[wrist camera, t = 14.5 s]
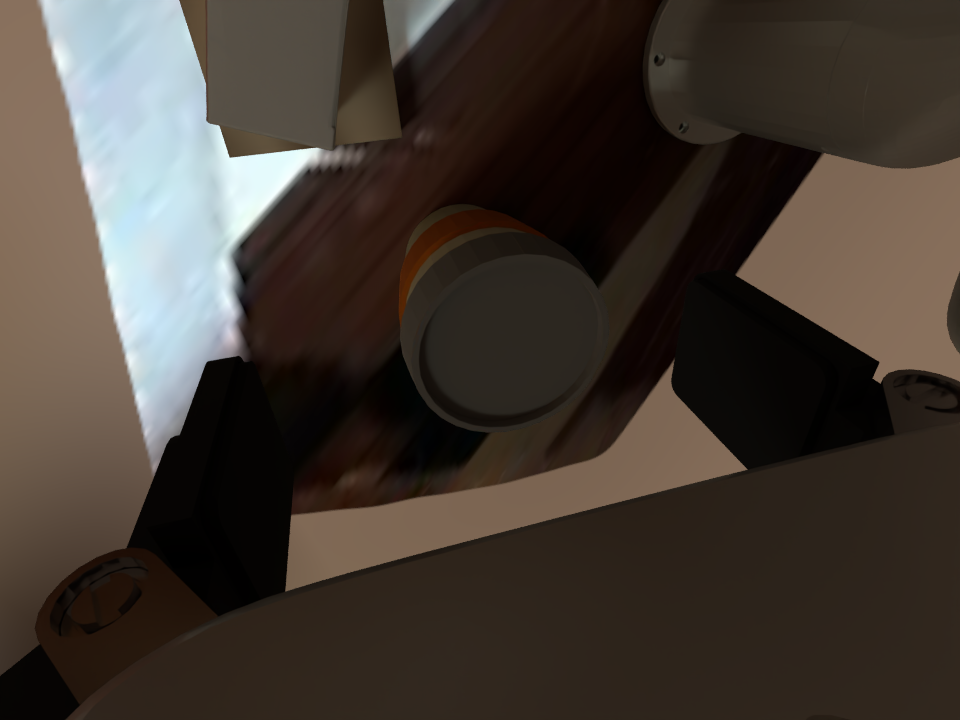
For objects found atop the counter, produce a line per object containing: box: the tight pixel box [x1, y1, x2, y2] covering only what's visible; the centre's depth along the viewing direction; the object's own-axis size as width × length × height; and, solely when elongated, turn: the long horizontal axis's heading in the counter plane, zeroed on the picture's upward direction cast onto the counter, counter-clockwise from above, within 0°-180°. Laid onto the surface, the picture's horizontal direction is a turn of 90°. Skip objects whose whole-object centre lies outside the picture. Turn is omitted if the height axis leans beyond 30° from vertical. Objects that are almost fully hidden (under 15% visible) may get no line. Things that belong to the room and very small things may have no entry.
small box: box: [205, 0, 350, 151], centre depth 26 cm, size 8×6×10 cm
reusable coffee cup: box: [399, 204, 609, 432], centre depth 36 cm, size 13×13×15 cm
